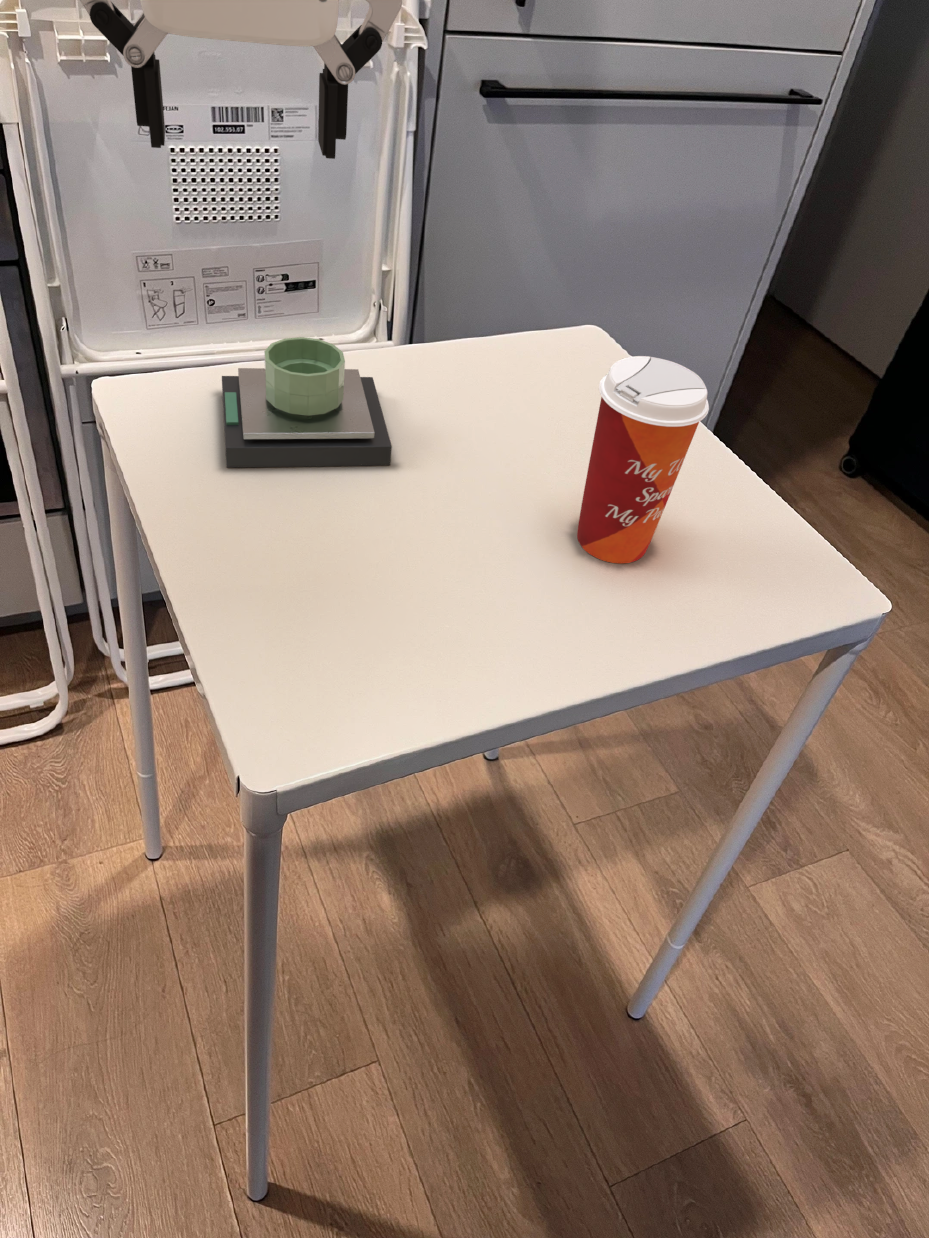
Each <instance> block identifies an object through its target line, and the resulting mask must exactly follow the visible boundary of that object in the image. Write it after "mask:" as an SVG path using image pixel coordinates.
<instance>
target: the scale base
mask: <svg viewBox="0 0 929 1238" xmlns="http://www.w3.org/2000/svg"><path fill="white" fill-rule="evenodd" d="M360 378H361V382H362V386H363V390H364V394H365V398H366V401H367V405H368V409H369V413H370V417H371V421H372V425H373V429H374V432H375V435H374V438H368V439H243V427H242V414H241V402H240V389H239V376H238V375H221V391H222V410H223V411H222V412H223V428H224V430H223V431H224V447H225V465H226V468H228V469H229V468H231V469H232V468H291V467H293V468H294V467H298V468H299V467H302V468H303V467H360V466H361V467H366V466H369V467H371V466H373V467H374V466H375V467H376V466H391V461H392V448H393V445H392V442H391V438H390V435H389V432H388V428H387V424H386V420H385V416H384V413H383V410H382V406H381V402H380V399H379V396H378V391H377V388H376V384H375V381H374V377H373V376H360Z"/></svg>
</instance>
